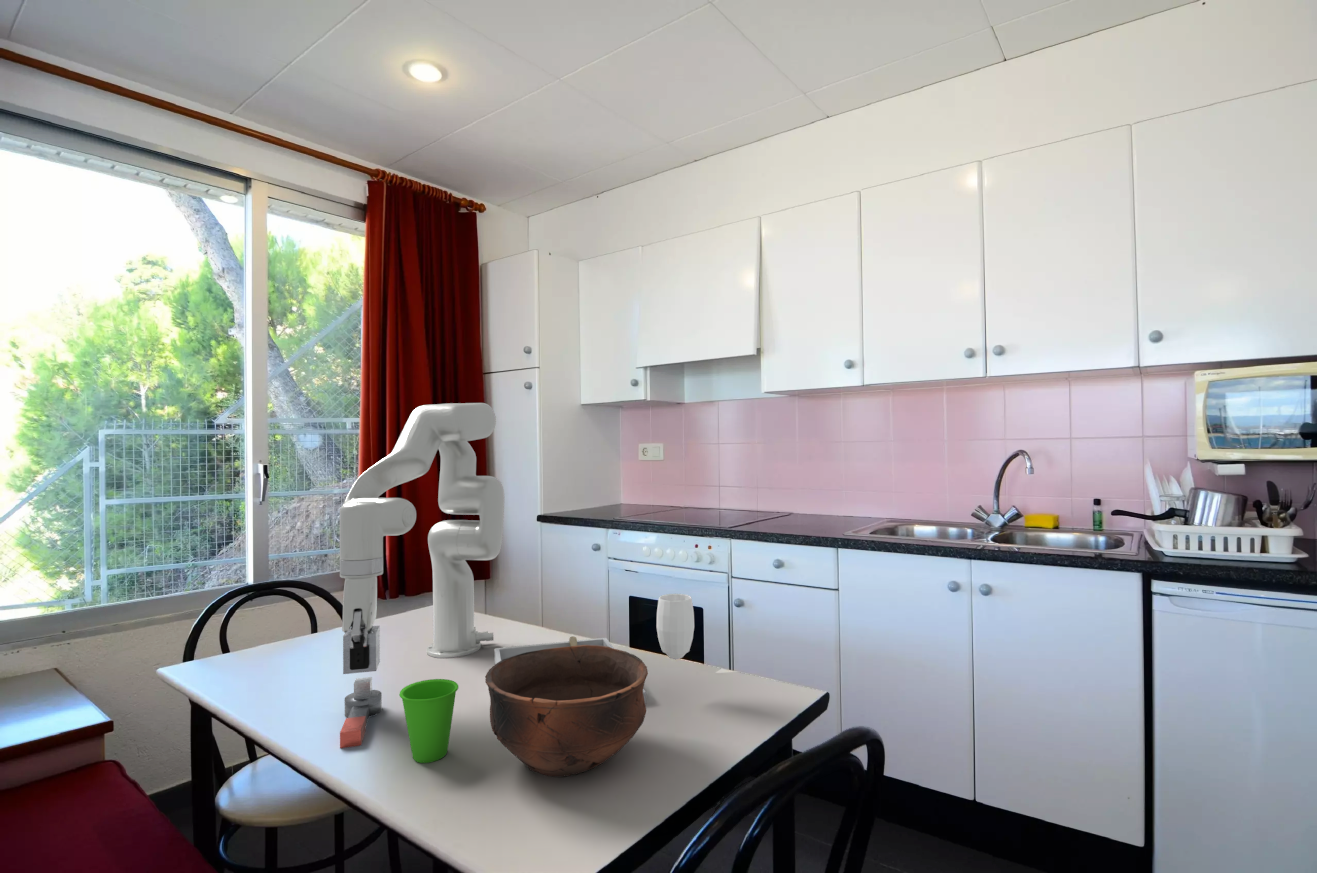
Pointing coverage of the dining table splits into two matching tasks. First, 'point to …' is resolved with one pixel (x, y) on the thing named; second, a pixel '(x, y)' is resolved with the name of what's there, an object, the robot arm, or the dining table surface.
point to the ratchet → (359, 712)
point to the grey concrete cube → (373, 650)
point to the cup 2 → (675, 624)
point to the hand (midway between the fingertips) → (362, 662)
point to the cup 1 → (429, 717)
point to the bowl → (566, 706)
